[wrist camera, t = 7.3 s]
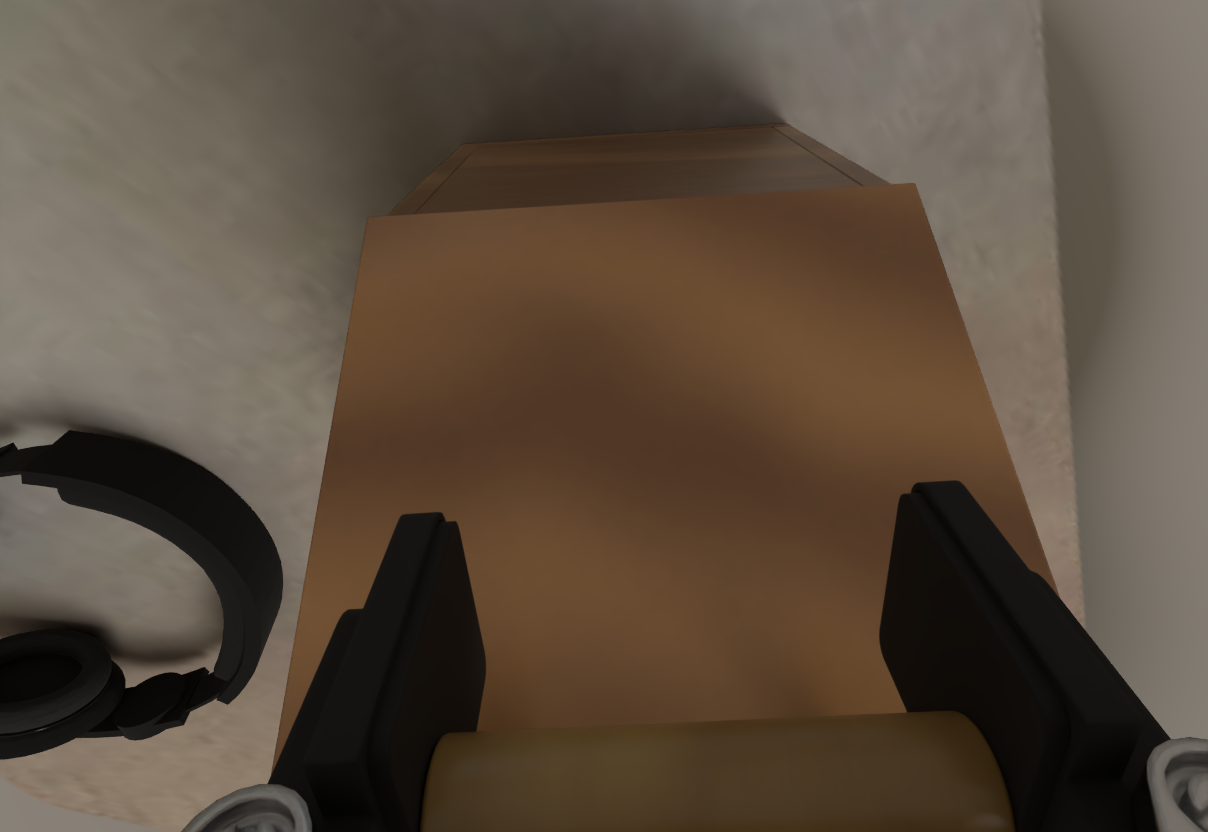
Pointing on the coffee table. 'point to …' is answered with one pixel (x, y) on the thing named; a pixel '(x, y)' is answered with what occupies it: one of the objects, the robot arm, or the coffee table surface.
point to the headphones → (82, 663)
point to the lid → (668, 504)
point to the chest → (632, 169)
